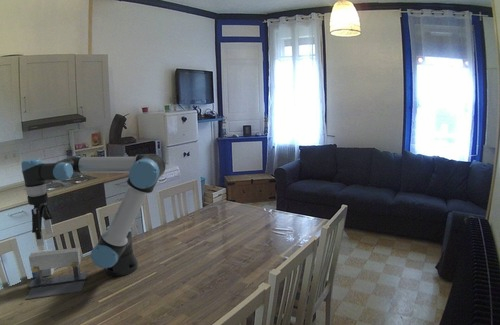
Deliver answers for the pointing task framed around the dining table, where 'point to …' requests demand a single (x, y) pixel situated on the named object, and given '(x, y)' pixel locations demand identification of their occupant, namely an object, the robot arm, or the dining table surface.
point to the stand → (57, 278)
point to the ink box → (47, 271)
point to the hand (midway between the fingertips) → (45, 239)
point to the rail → (54, 258)
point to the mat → (55, 290)
